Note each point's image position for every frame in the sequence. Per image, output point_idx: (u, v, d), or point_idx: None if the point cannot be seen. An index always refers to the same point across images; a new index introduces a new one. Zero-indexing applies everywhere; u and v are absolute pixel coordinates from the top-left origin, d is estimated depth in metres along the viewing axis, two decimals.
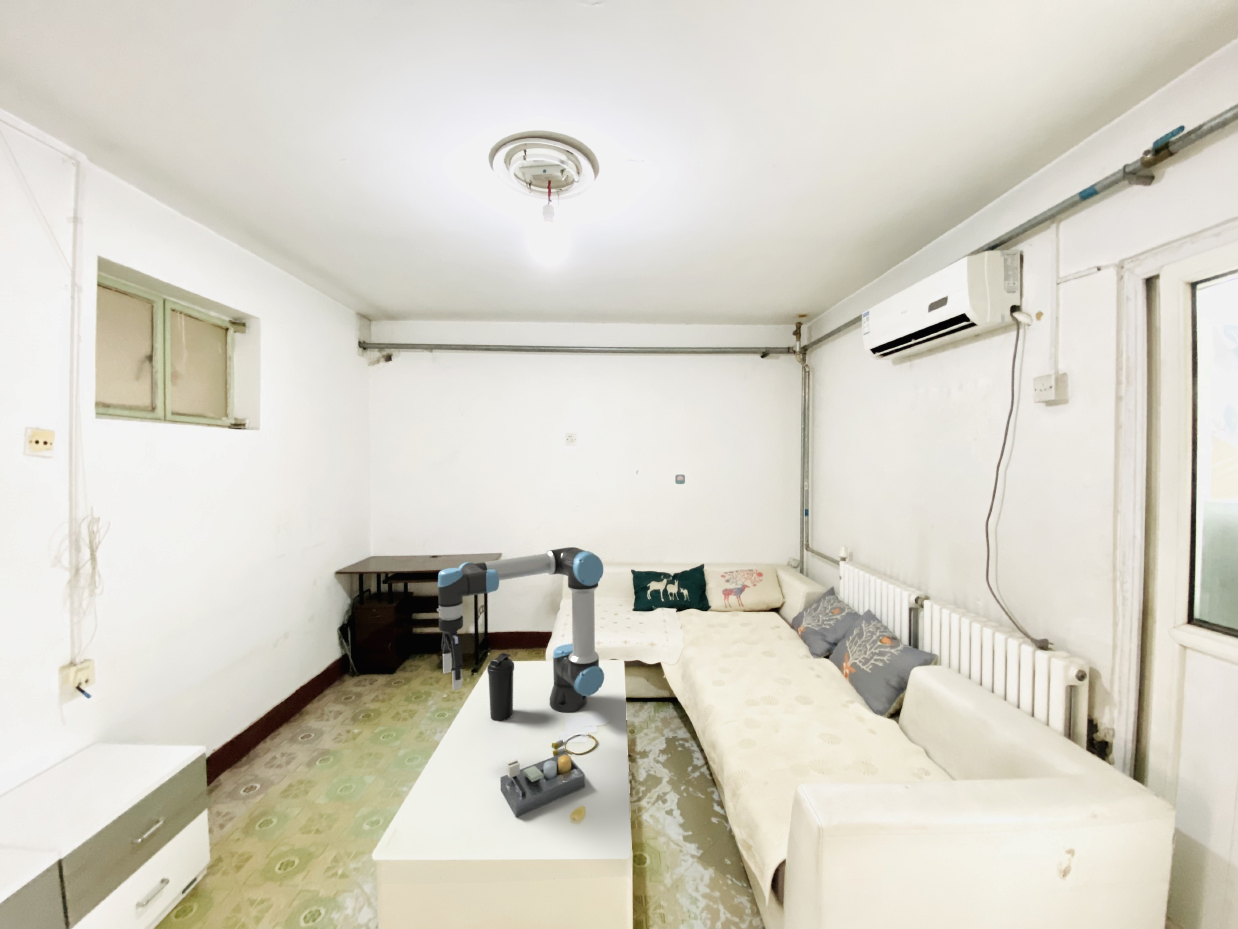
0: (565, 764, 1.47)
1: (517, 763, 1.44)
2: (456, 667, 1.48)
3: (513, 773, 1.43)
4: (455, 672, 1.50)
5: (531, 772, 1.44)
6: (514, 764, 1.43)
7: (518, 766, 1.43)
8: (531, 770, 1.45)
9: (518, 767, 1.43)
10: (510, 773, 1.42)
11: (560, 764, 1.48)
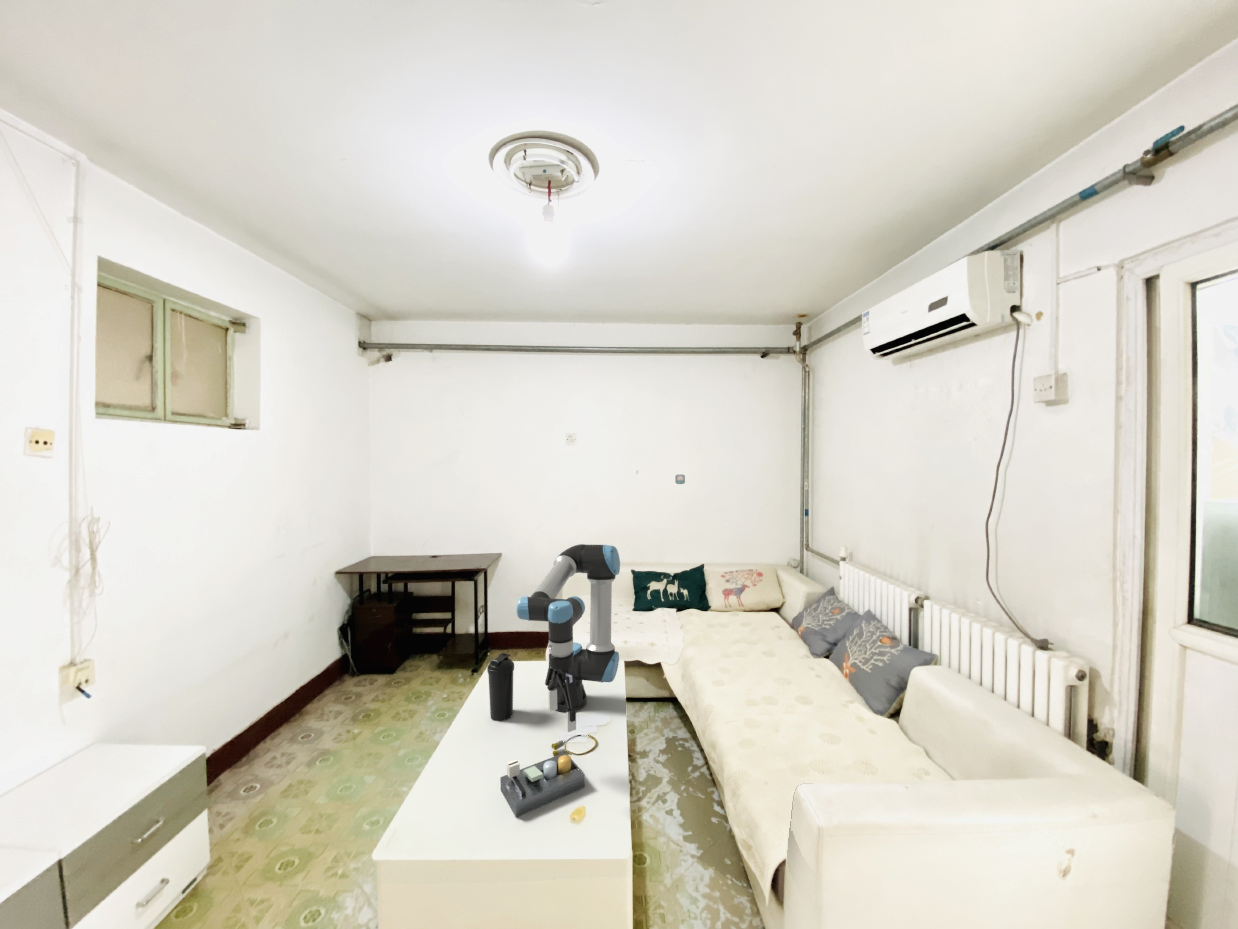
0: (565, 764, 1.47)
1: (517, 763, 1.44)
2: (573, 708, 1.40)
3: (513, 773, 1.43)
4: (570, 713, 1.42)
5: (531, 772, 1.44)
6: (514, 764, 1.43)
7: (518, 766, 1.43)
8: (531, 770, 1.45)
9: (518, 767, 1.43)
10: (510, 773, 1.42)
11: (560, 764, 1.48)
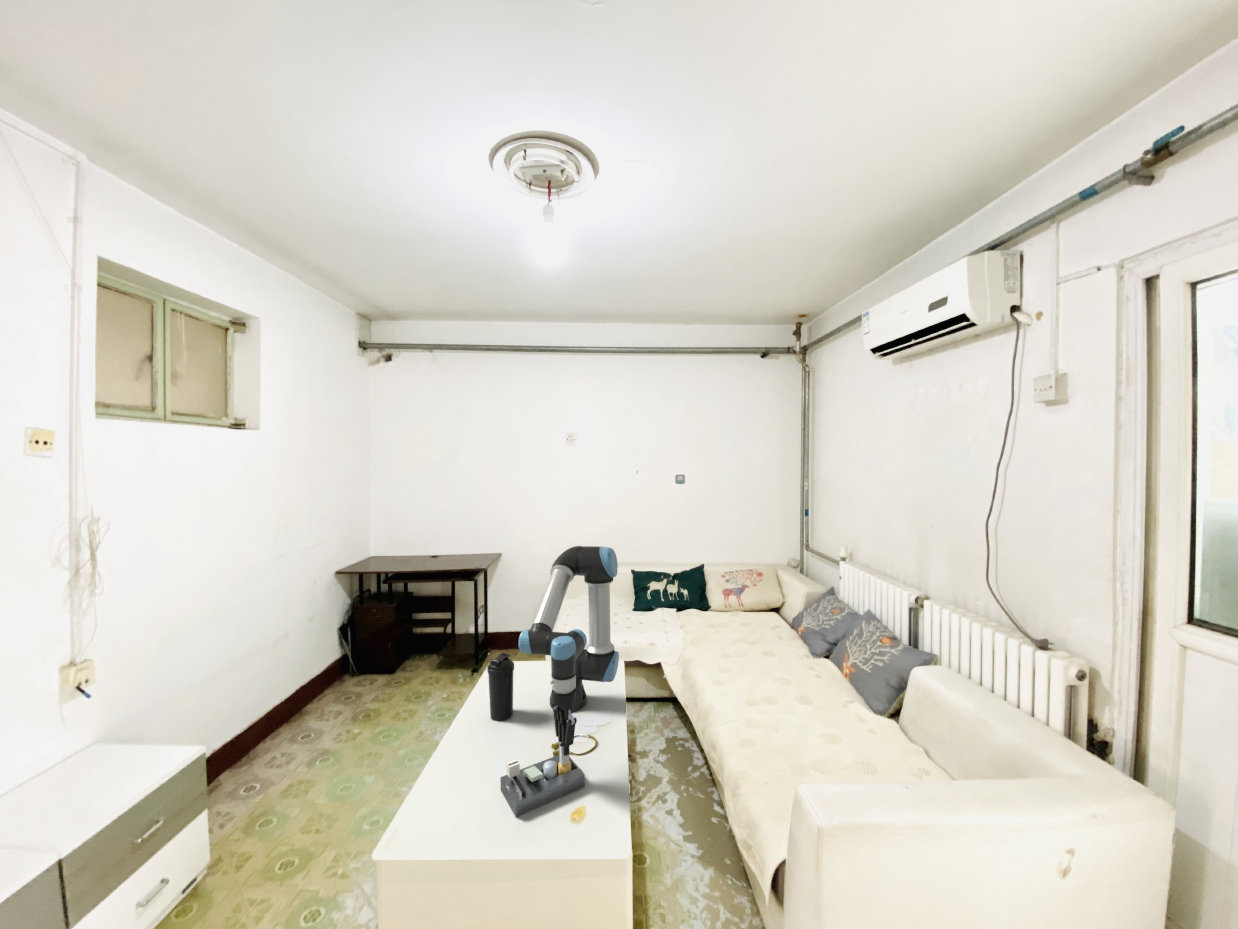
0: (566, 769, 1.47)
1: (517, 763, 1.44)
2: (567, 745, 1.45)
3: (513, 773, 1.43)
4: (564, 747, 1.48)
5: (531, 772, 1.44)
6: (514, 764, 1.43)
7: (518, 766, 1.43)
8: (531, 770, 1.45)
9: (518, 767, 1.43)
10: (510, 773, 1.42)
11: (560, 768, 1.48)
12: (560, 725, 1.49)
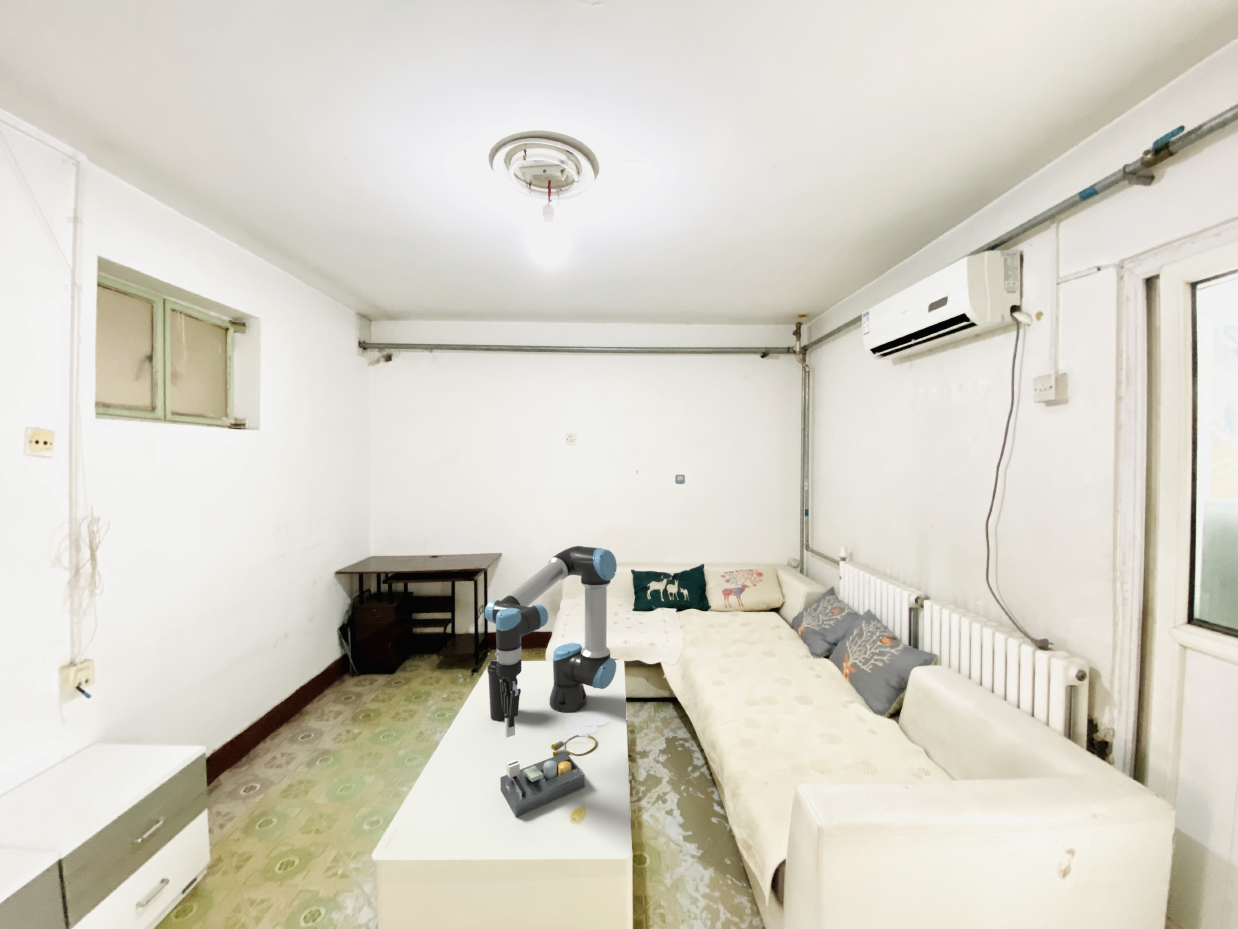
0: (566, 770, 1.47)
1: (517, 763, 1.44)
2: (511, 716, 1.45)
3: (513, 773, 1.43)
4: (509, 719, 1.47)
5: (531, 772, 1.44)
6: (514, 764, 1.43)
7: (518, 766, 1.43)
8: (531, 770, 1.45)
9: (518, 767, 1.43)
10: (510, 773, 1.42)
11: (560, 770, 1.48)
12: (505, 697, 1.48)
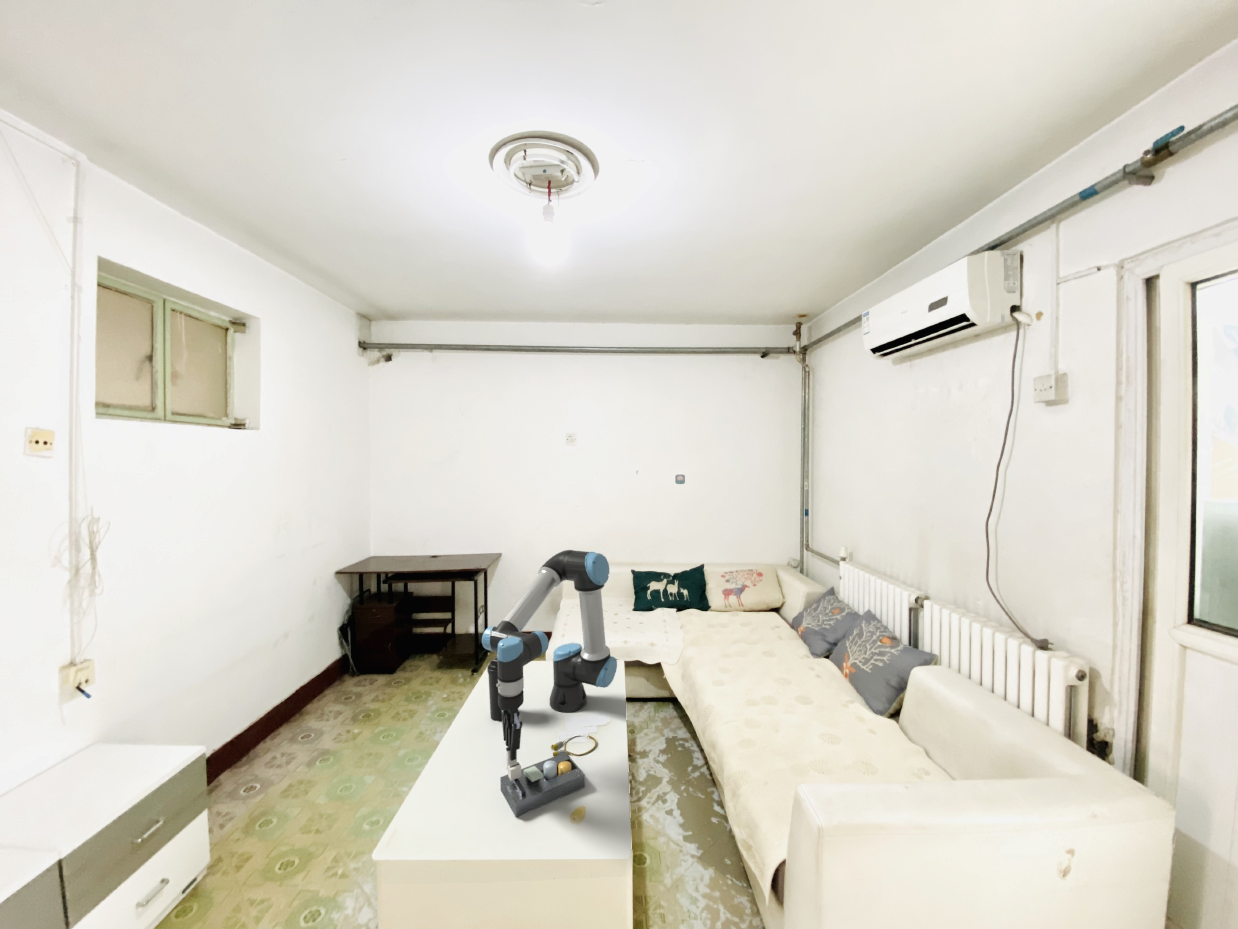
0: (566, 770, 1.47)
1: (518, 765, 1.43)
2: (512, 749, 1.41)
3: (514, 775, 1.42)
4: (510, 752, 1.43)
5: (531, 772, 1.44)
6: (515, 766, 1.42)
7: (519, 768, 1.42)
8: (531, 770, 1.45)
9: (519, 769, 1.42)
10: (511, 775, 1.41)
11: (560, 770, 1.48)
12: (507, 729, 1.44)
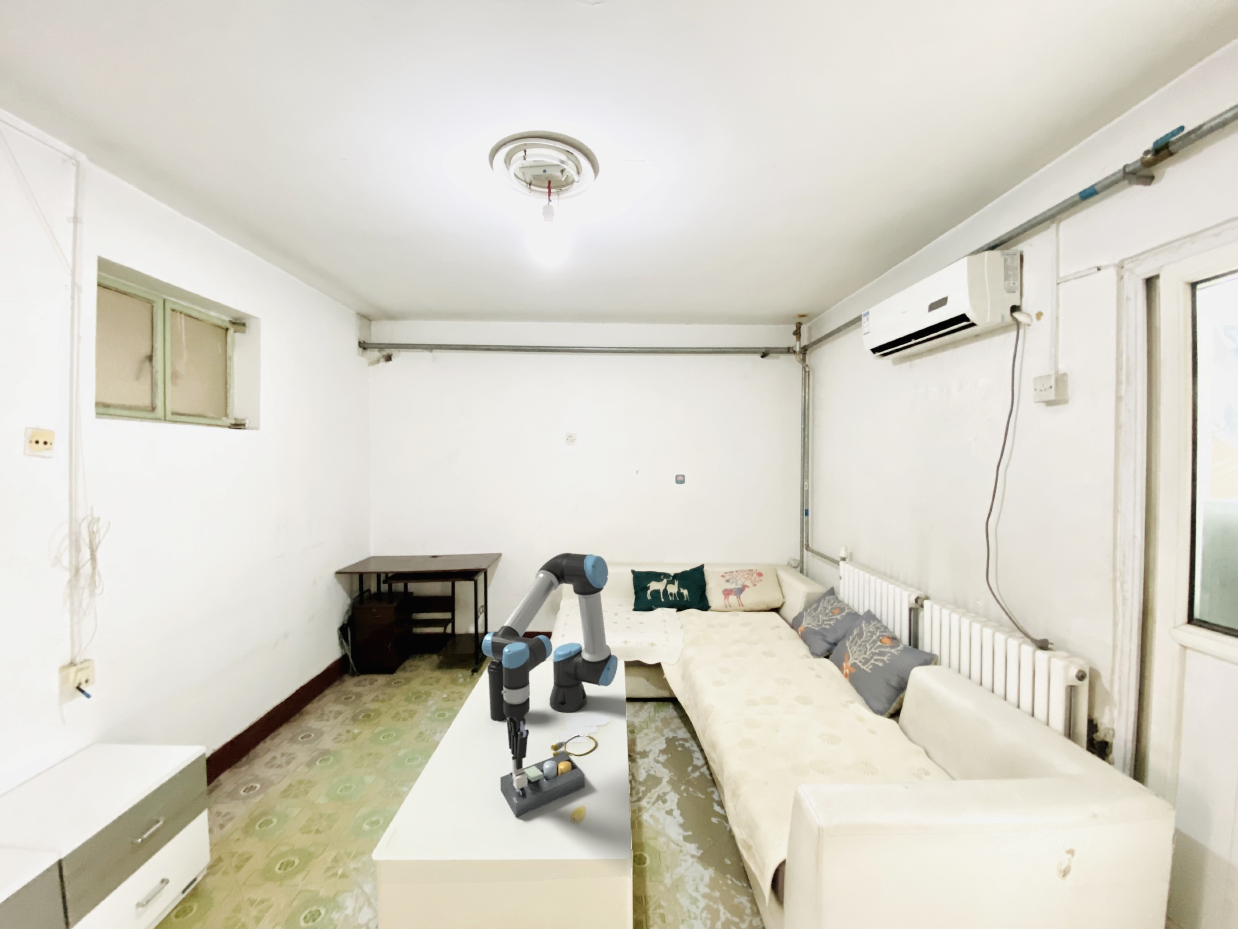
0: (566, 770, 1.47)
1: (524, 774, 1.39)
2: (519, 758, 1.37)
3: (520, 784, 1.38)
4: (516, 761, 1.39)
5: (531, 772, 1.44)
6: (521, 775, 1.38)
7: (525, 777, 1.38)
8: (531, 770, 1.45)
9: (525, 778, 1.38)
10: (517, 784, 1.37)
11: (560, 770, 1.48)
12: (513, 737, 1.40)
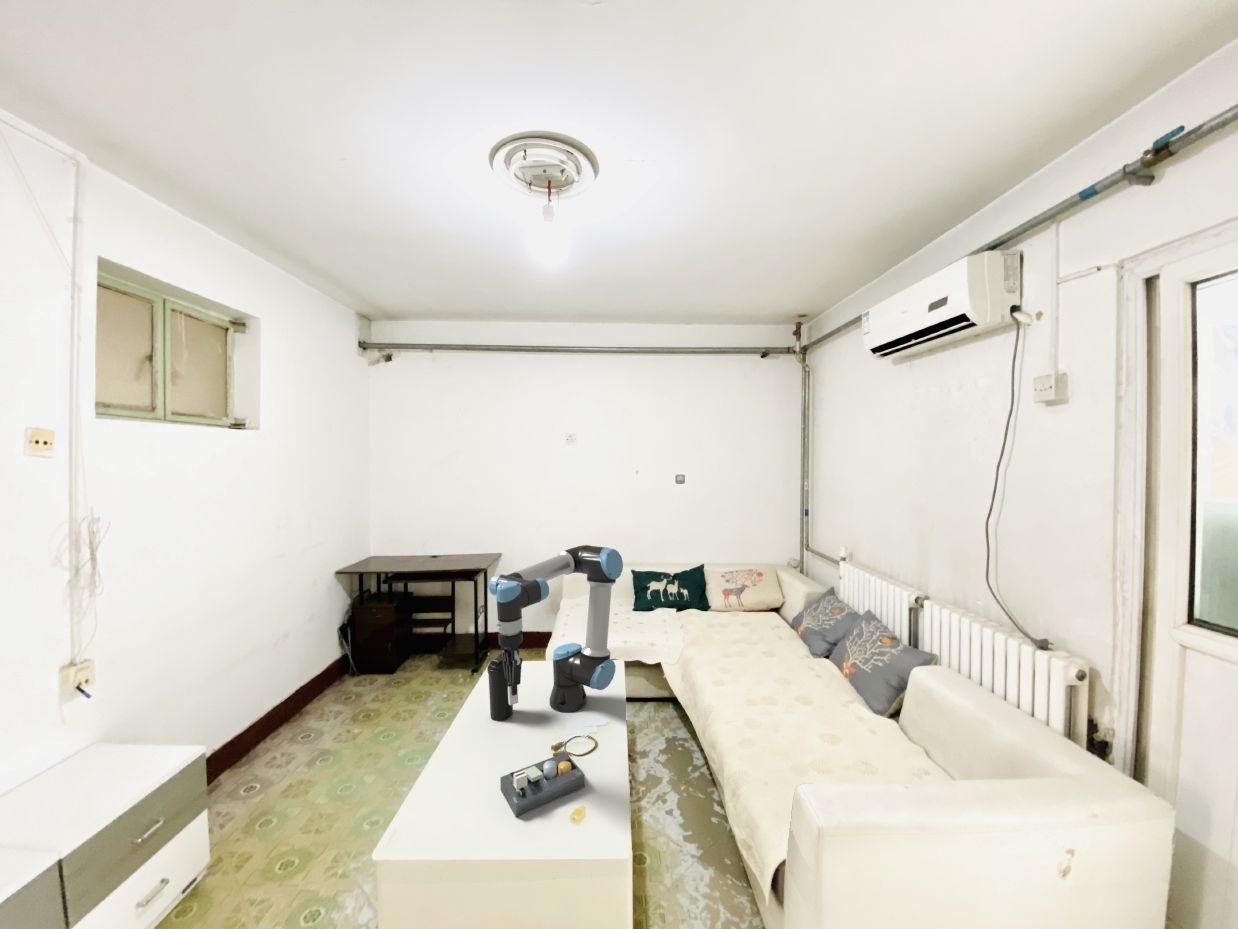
0: (566, 770, 1.47)
1: (524, 774, 1.39)
2: (514, 684, 1.49)
3: (520, 784, 1.38)
4: (512, 687, 1.51)
5: (531, 772, 1.44)
6: (521, 775, 1.38)
7: (525, 777, 1.38)
8: (531, 770, 1.45)
9: (525, 778, 1.38)
10: (517, 784, 1.37)
11: (560, 770, 1.48)
12: (508, 667, 1.53)
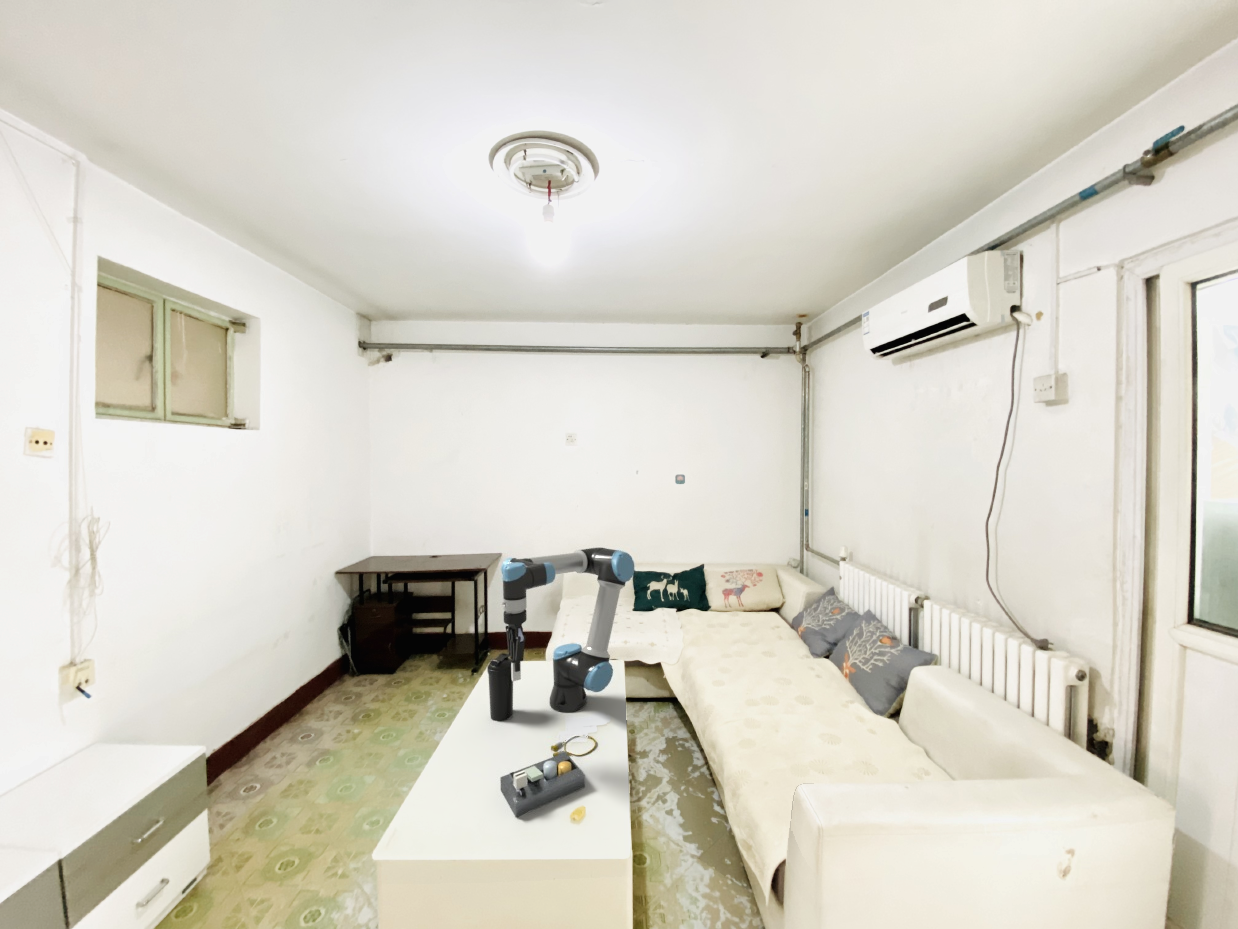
0: (566, 770, 1.47)
1: (524, 774, 1.39)
2: (517, 660, 1.56)
3: (520, 784, 1.38)
4: (515, 664, 1.59)
5: (531, 772, 1.44)
6: (521, 775, 1.38)
7: (525, 777, 1.38)
8: (531, 770, 1.45)
9: (525, 778, 1.38)
10: (517, 784, 1.37)
11: (560, 770, 1.48)
12: (512, 644, 1.60)
